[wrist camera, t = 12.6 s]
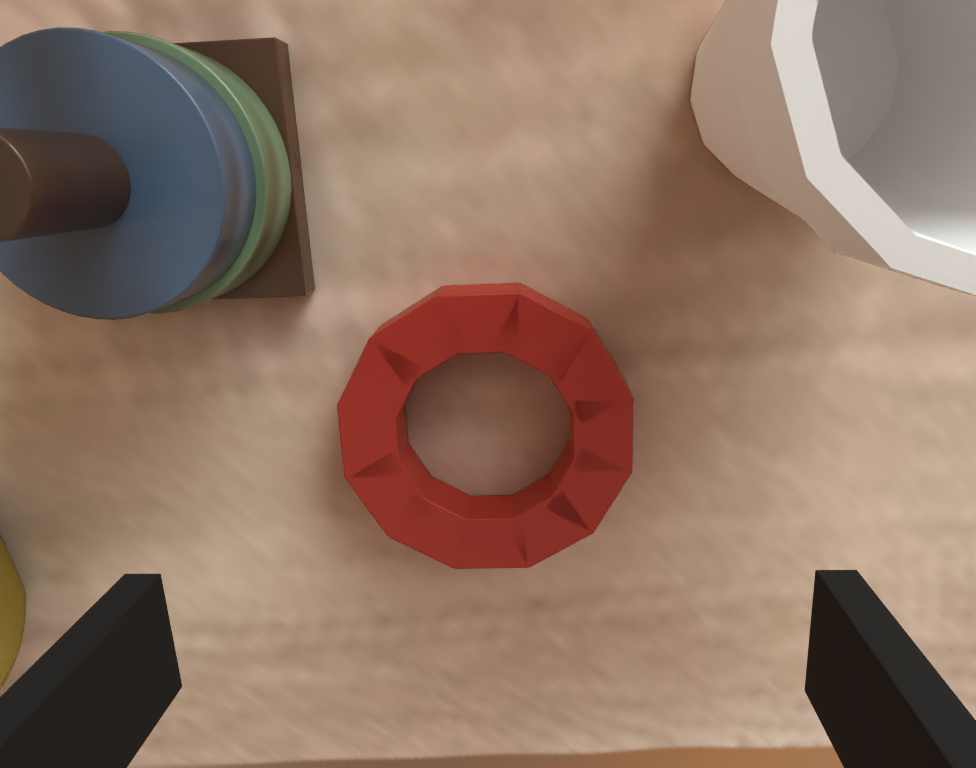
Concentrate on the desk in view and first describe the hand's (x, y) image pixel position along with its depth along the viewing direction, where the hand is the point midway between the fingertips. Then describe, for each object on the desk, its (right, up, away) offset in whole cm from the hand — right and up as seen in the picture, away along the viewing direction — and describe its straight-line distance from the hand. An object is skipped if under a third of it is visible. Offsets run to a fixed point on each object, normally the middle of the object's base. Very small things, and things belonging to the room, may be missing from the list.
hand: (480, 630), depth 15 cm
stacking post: (-10, +12, +10) cm, 19 cm away
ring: (0, +4, +12) cm, 13 cm away
